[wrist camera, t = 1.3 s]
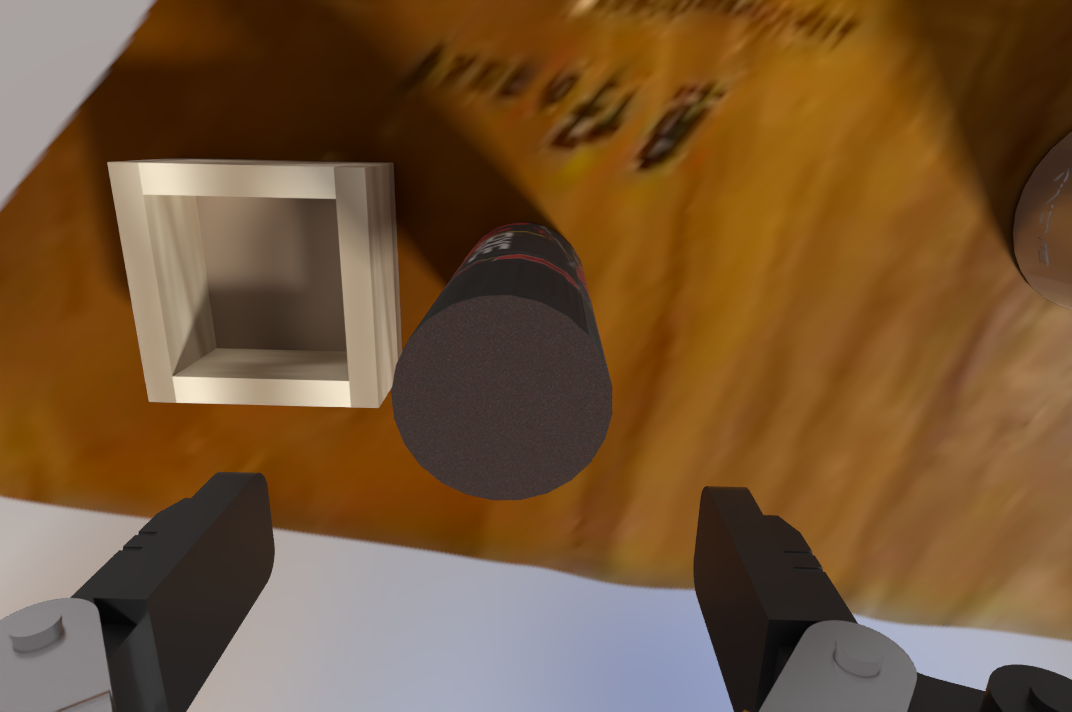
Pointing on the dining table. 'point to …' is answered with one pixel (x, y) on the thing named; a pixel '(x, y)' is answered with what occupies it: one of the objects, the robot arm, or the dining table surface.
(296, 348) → the white wooden box
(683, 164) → the dining table surface
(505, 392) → the deodorant
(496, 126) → the dining table surface
